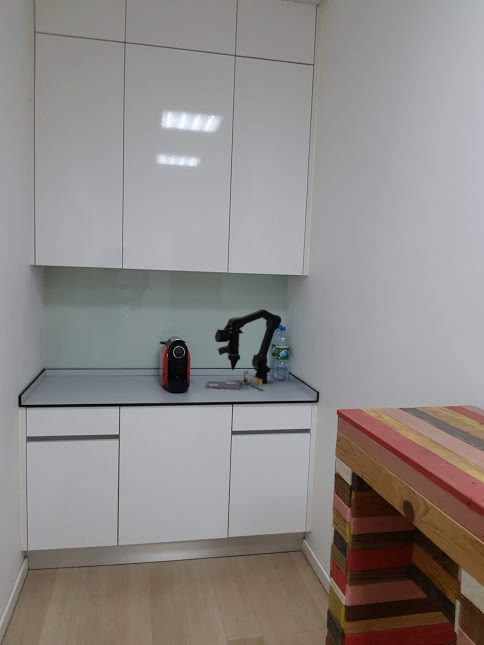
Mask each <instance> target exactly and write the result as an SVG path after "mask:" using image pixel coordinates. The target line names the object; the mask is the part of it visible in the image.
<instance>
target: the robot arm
mask: <svg viewBox="0 0 484 645" xmlns="http://www.w3.org/2000/svg"><path fill="white" fill-rule="evenodd" d="M259 319H263V320H265V327H266V328H265V329H266V330H265V331H264V332H265V333H264V335H263V339H262V341H261V345H260V347H259V350H258V352H257V354H253V356H252V357H253V358H252V360H251V366H252V367H253V369H254V371H256V373H255V374H254V376H255V377H257V378H260V379H262V384H265V385H267V384H268V374H269V373H270V372H271V368H270V367H269V366H268V353H269V349H270V347H271V344H272V340H273V337H274V333H275V332H276V331H277V330H278V329H279V327H280V325H281V323H282V318H281V316H280V315H277V314H274V313H272V312H269V311H267V310H266V309H262V308H261V309H259V310H257V311H254V312H251V313H249V314H246V315H243V316H238V317H232V318H229V319H228V321H227V324H226V325H225V326H224V328H223V329H216V332H215V335H214V340H215V342H216V343H227V342H228V343H227V345H224V346H222V347H218V348H217V351H218V353H219V356H222V355H223V354H226V355H227V359H228V360H229V361H230V368H231V371H234V370H235V369H236V366H237V364H238V362H239V361H240V360H241V355H240V334H244V331H242V328H243V327H245V326H246V325H247V324H249V323H252V322H254V321H257V320H259Z"/></svg>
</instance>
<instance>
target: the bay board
mask: <svg viewBox="0 0 484 645" xmlns="http://www.w3.org/2000/svg"><path fill="white" fill-rule="evenodd" d="M240 385H241V382H238V381H217V380H207V382H206V384H205V387H204V388H205V389H215V390H216V389H217V390H218V389H220V390H240Z"/></svg>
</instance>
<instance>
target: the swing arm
mask: <svg viewBox="0 0 484 645" xmlns="http://www.w3.org/2000/svg"><path fill="white" fill-rule="evenodd" d="M249 381H250V382H252V383H254V384H256V385H257V386H262V385H263V383H262V379H260V378H257V377H255V375H254V374H250V373H249V370H243V380H242V382H245V383H246V382H249Z"/></svg>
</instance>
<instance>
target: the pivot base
mask: <svg viewBox="0 0 484 645" xmlns="http://www.w3.org/2000/svg"><path fill="white" fill-rule="evenodd" d="M250 382H251V381H250ZM250 382H249V381H248V382H246V383H245V382H243V381H242V382H240V385H241V384H242V385H250V384H251V383H250Z"/></svg>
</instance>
